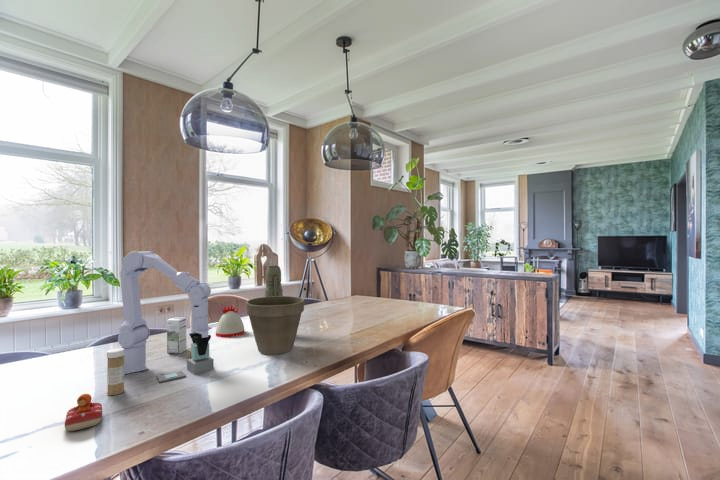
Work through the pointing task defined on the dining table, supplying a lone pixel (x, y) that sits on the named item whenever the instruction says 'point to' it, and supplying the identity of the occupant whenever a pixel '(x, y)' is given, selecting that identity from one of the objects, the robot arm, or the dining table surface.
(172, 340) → the syrup box
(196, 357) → the teal block
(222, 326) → the white domed piece
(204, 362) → the grey block
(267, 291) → the green cactus
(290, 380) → the dining table surface
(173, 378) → the card
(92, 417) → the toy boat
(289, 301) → the plant pot
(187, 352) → the walnut block
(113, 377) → the sprinkles bottle
